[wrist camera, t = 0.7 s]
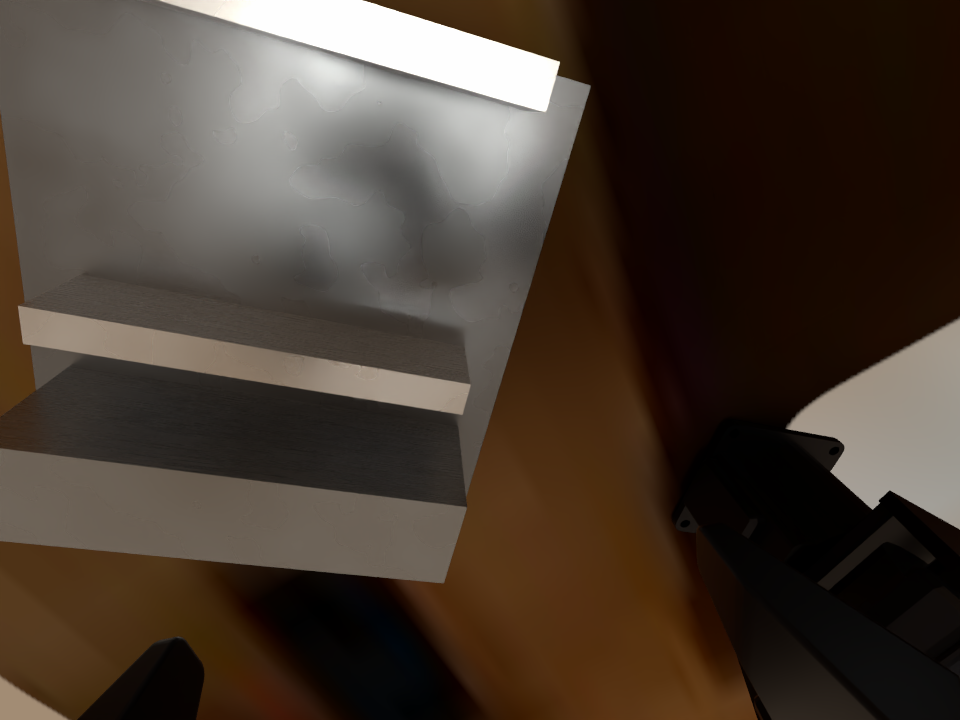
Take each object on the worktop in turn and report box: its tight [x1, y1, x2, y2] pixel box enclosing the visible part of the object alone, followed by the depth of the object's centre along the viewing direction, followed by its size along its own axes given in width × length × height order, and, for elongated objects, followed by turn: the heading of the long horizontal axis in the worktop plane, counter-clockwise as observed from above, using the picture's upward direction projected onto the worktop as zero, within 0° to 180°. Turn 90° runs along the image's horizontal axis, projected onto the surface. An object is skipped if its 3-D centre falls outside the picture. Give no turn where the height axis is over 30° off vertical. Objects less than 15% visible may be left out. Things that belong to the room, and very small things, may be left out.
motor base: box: [0, 0, 591, 583], centre depth 15 cm, size 14×14×8 cm
